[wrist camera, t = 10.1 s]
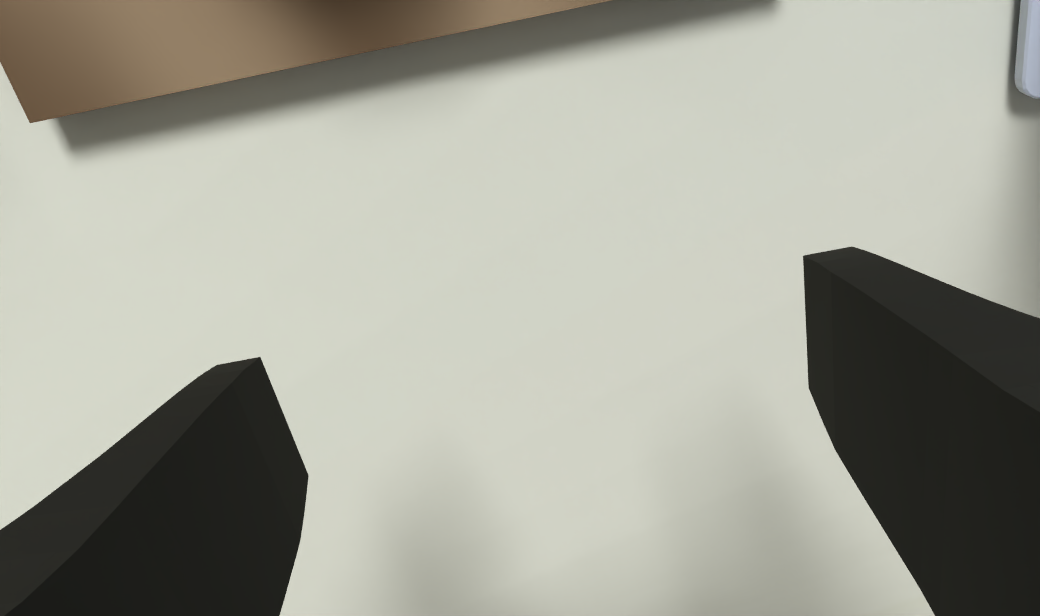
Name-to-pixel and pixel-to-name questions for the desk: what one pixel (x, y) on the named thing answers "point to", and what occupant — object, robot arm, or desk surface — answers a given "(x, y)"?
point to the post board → (209, 41)
